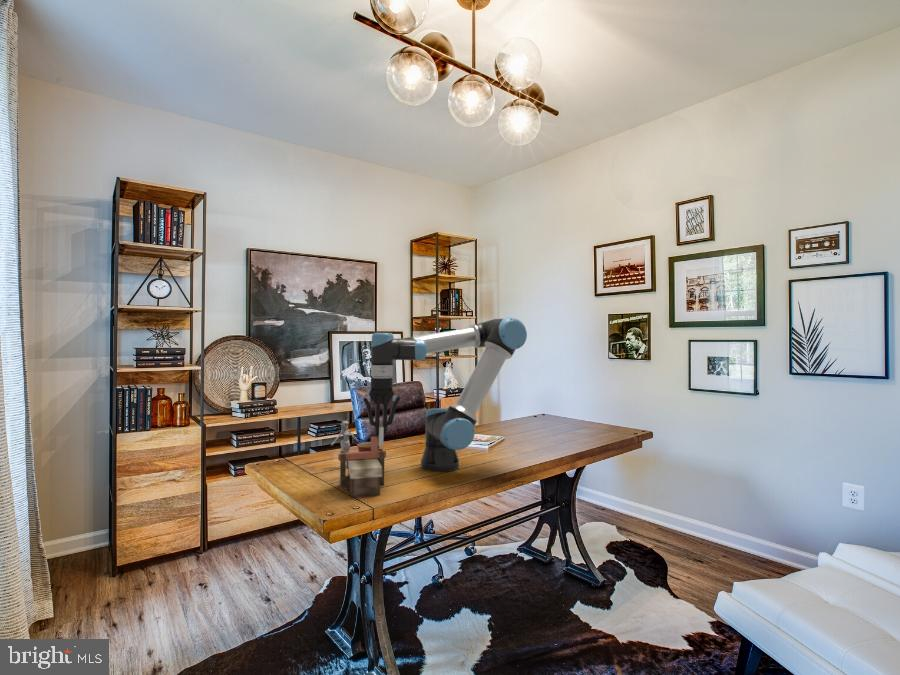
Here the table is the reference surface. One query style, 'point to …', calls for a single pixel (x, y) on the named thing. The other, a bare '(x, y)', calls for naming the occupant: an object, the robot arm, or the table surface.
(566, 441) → the table surface
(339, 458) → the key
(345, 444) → the human figurine
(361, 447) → the mug
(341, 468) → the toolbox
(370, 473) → the lid
